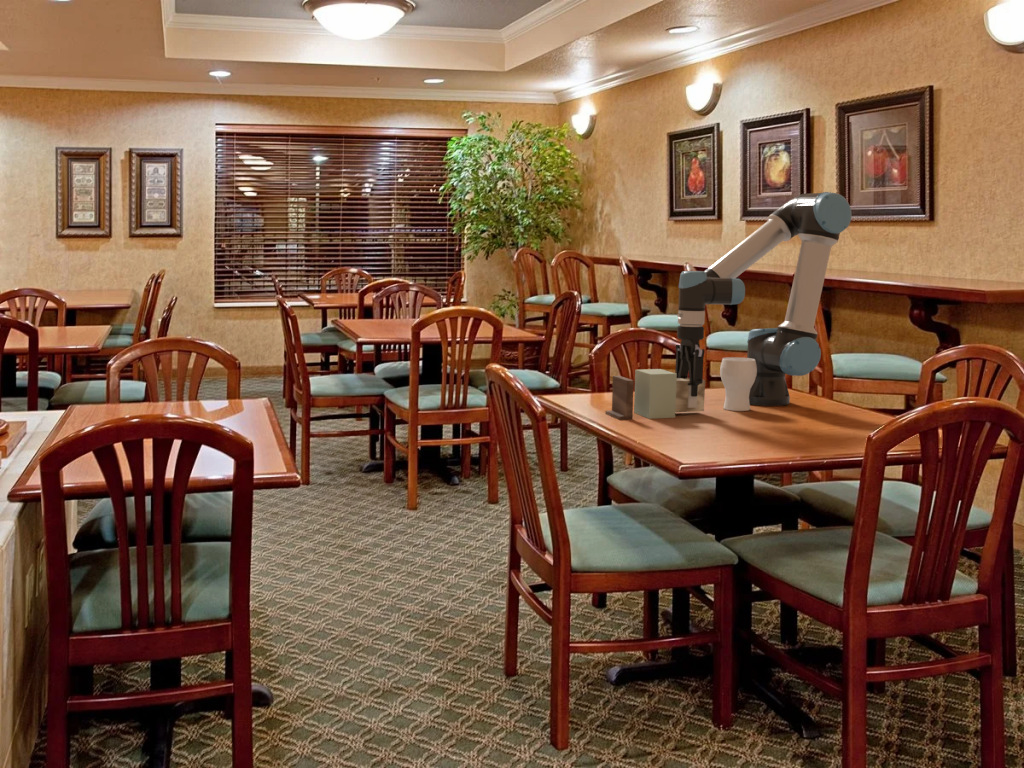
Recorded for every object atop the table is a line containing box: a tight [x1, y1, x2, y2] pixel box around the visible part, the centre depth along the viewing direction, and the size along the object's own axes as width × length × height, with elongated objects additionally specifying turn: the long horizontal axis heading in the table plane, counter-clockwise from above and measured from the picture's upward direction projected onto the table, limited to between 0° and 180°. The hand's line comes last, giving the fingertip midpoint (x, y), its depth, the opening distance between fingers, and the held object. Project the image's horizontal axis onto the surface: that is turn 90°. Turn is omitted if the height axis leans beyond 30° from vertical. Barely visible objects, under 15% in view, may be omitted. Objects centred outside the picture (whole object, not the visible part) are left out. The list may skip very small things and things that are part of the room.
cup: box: [719, 356, 757, 412], centre depth 315 cm, size 11×11×15 cm
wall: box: [604, 375, 635, 421], centre depth 299 cm, size 4×10×11 cm, turn 18°
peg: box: [675, 377, 706, 413], centre depth 305 cm, size 14×5×9 cm, turn 108°
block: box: [633, 368, 677, 420], centre depth 303 cm, size 8×10×12 cm
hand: (687, 405), depth 306 cm, fingers closed on peg, 5 cm apart
